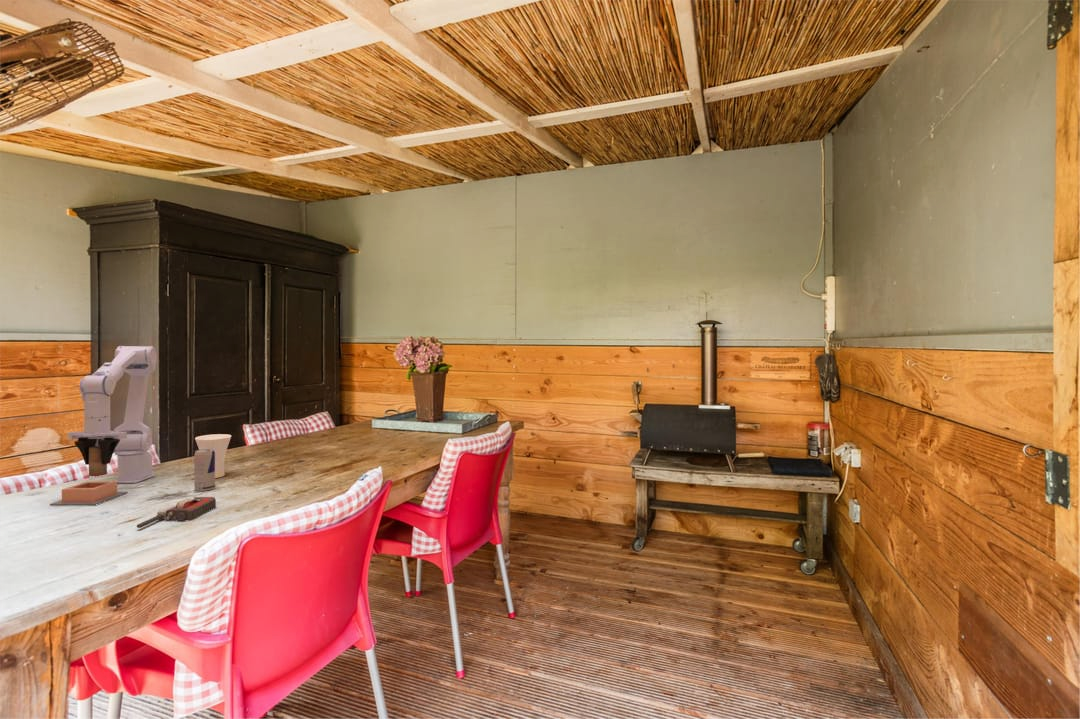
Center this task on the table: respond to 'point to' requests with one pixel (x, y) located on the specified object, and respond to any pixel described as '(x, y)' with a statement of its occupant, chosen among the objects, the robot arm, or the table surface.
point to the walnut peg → (96, 462)
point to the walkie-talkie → (184, 510)
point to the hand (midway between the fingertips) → (97, 463)
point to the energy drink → (204, 470)
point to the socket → (89, 493)
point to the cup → (215, 449)
